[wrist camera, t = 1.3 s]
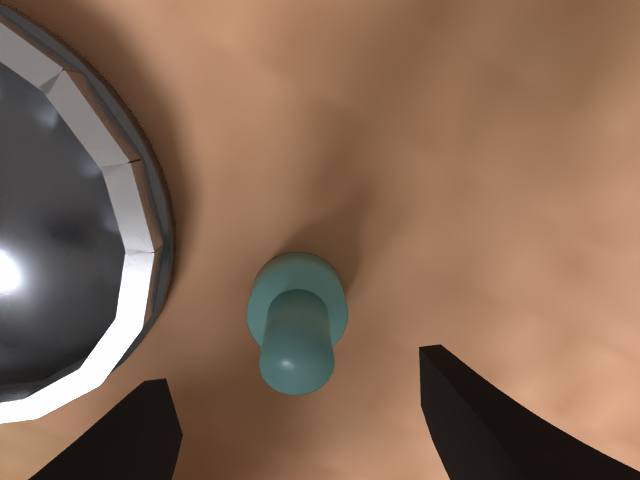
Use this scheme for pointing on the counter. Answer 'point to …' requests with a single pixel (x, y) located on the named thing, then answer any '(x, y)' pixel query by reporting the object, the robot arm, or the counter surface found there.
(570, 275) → the counter surface
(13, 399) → the round metal bowl
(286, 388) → the teal mushroom knob
